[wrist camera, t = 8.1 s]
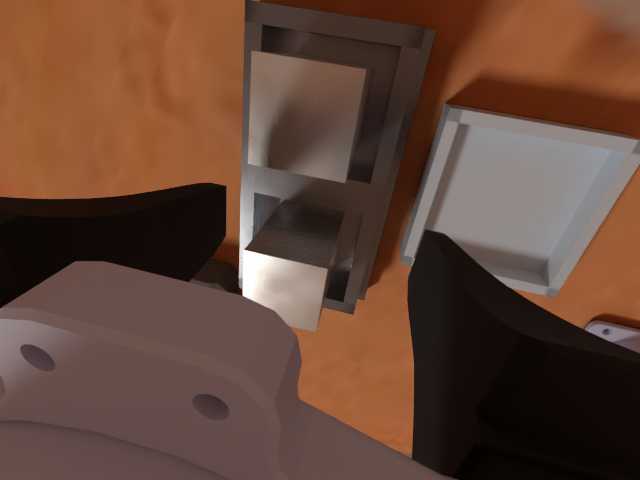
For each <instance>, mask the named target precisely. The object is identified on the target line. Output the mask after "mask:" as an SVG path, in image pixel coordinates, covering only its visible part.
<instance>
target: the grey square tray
mask: <svg viewBox="0 0 640 480" xmlns="http://www.w3.org/2000/svg"><path fill="white" fill-rule="evenodd" d="M639 164H640V138H637V137H633V136H630V135H627V134H622V133H616V132H610V131H605V130H599V129H593V128H587V127H581V126H575V125H570V124H564V123H558V122H552V121H546V120H541V119H535V118H529V117H523V116H517V115H511V114H506V113H500V112H494V111H488V110H482V109H477V108H471V107H465V106H459V105H453V104H447V103H444V106H443V110H442V113H441V116H440V119H439V123H438V126H437V129H436V132H435V136H434V139H433V142H432V145H431V149H430V152H429V155H428V159H427V162H426V165H425V168H424V172H423V175H422V178H421V181H420V185H419V188H418V191H417V194H416V198H415V201H414V204H413V208H412V211H411V214H410V217H409V221H408V224H407V227H406V230H405V234H404V237H403V240H402V243H401V247H400V254H401V264H404V265H409V266H413V263H414V260H415V257H416V254H417V251H418V248H419V246H420V243H421V240H422V237H423V234H424V231H425V229H427V230H431V231H436V232H440V233H444V234H445V235H447V236H448V237H449V238H451V239H452V240H453V241H454V242H455V243H456V244H457V245H458V246H460V247H461V248H462V249H463V250H464V251H465V252H466V253H467V254H468V255H469V256H471V257H472V258H473V259H474V260H475V261H476V262H477V263H478V264H480V265H481V266H482V267H483V268H484V269H486V270H487V271H488V272H489V273H491V274H492V275H493V276H494V277H496V278H497V279H498V280H500V281H501V282H502V283H504V284H505V285H506V286H508V287H509V288H513V289H518V290H522V291H527V292H532V293H536V294H541V295H545V296H550V297H554V298H555V296H556V295H557V293H558V292H559V290H560V288H561V287H562V285H563V284H564V282H565V281H566V279H567V277H568V276H569V274H570V273H571V271H572V270H573V268H574V266H575V265H576V263H577V262H578V260H579V259H580V257H581V255H582V254H583V252H584V251H585V249H586V248H587V246H588V244H589V243H590V241H591V240H592V238H593V236H594V235H595V233H596V232H597V230H598V229H599V227H600V225H601V224H602V222H603V221H604V219H605V218H606V216H607V214H608V213H609V211H610V210H611V208H612V207H613V205H614V203H615V202H616V200H617V199H618V197H619V195H620V194H621V192H622V191H623V189H624V188H625V186H626V184H627V183H628V181H629V180H630V178H631V177H632V175H633V173H634V172H635V170H636V169H637V167H638V166H639Z"/></svg>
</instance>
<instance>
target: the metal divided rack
mask: <svg viewBox="0 0 640 480" xmlns="http://www.w3.org/2000/svg"><path fill="white" fill-rule="evenodd" d="M435 34H436V30H433V29H427V28H426V27H423V26H416V25H410V24H403V23H396V22H390V21H383V20H377V19H370V18H363V17H357V16H350V15H344V14H337V13H330V12H324V11H317V10H311V9H304V8H297V7H291V6H284V5H278V4H271V3H264V2H258V1H251V0H245V36H244V79H243V123H242V166H241V209H240V253H239V288H243V264H244V249H245V248H246V247H247V246H248V244H249V243H250V242H251V240H252V239H253V238H254V236H255V235H256V234H257V233H258V231H259V230H260V229H261V227H262V226H263V225H264V224H265V222H266V221H267V220H268V218H269V217H270V216H271V215H272V213H273V212H274V211H275V209H276V208H277V207H278V206H279V204H280V203H286V204H291V205H295V206H300V207H305V208H310V209H315V210H319V211H324V212H329V213H334V214H338V215H343V216H344V218H343V223H342V228H341V233H340V238H339V243H338V249H337V254H336V259H335V264H334V269H333V273H332V276H331V280H330V284H329V287H328V291H327V294H326V298H325V302H324V305H323V308H328V309H332V310H336V311H340V312H345V313H349V314H354V310H355V306H356V302H357V299H360V300H364V299H365V295H366V292H367V288H368V284H369V280H370V277H371V273H372V269H373V265H374V262H375V258H376V254H377V250H378V247H379V243H380V239H381V235H382V232H383V228H384V224H385V220H386V217H387V213H388V209H389V206H390V202H391V198H392V194H393V191H394V187H395V183H396V179H397V176H398V172H399V168H400V164H401V161H402V157H403V153H404V149H405V146H406V142H407V138H408V134H409V131H410V127H411V123H412V120H413V116H414V112H415V108H416V105H417V101H418V97H419V93H420V90H421V86H422V82H423V78H424V75H425V71H426V67H427V63H428V60H429V56H430V52H431V48H432V45H433V41H434V37H435ZM252 51H264V52H277V53H290V54H299V55H305V56H311V57H317V58H323V59H329V60H335V61H341V62H347V63H353V64H359V65H366V66H372V67H374V70H373V75H372V80H371V86H370V91H369V96H368V101H367V106H366V111H365V116H364V121H363V126H362V131H361V136H360V141H359V146H358V150H357V153H356V155H355V158H354V161H353V163H352V166H351V169H350V171H349V174H348V177H347V180H346V182H345V183H342V182H337V181H332V180H327V179H322V178H317V177H312V176H307V175H302V174H297V173H291V172H286V171H281V170H276V169H271V168H266V167H261V166H256V165H251V164H248V145H249V114H250V83H251V52H252Z"/></svg>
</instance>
